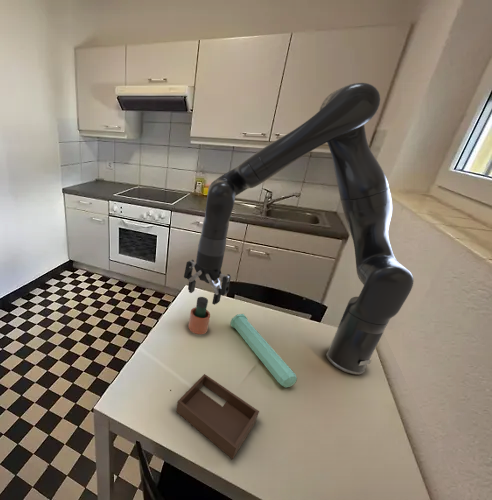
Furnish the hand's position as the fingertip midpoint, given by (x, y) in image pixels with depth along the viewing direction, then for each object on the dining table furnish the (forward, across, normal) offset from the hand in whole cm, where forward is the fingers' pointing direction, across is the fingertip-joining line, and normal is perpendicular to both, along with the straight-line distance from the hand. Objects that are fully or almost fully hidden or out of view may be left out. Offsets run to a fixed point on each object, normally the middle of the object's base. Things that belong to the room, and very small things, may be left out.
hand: (202, 297), depth 87 cm
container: (+12, -19, -4) cm, 23 cm away
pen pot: (+12, 0, 0) cm, 12 cm away
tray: (+12, -20, +23) cm, 33 cm away
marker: (+12, 0, 0) cm, 12 cm away
